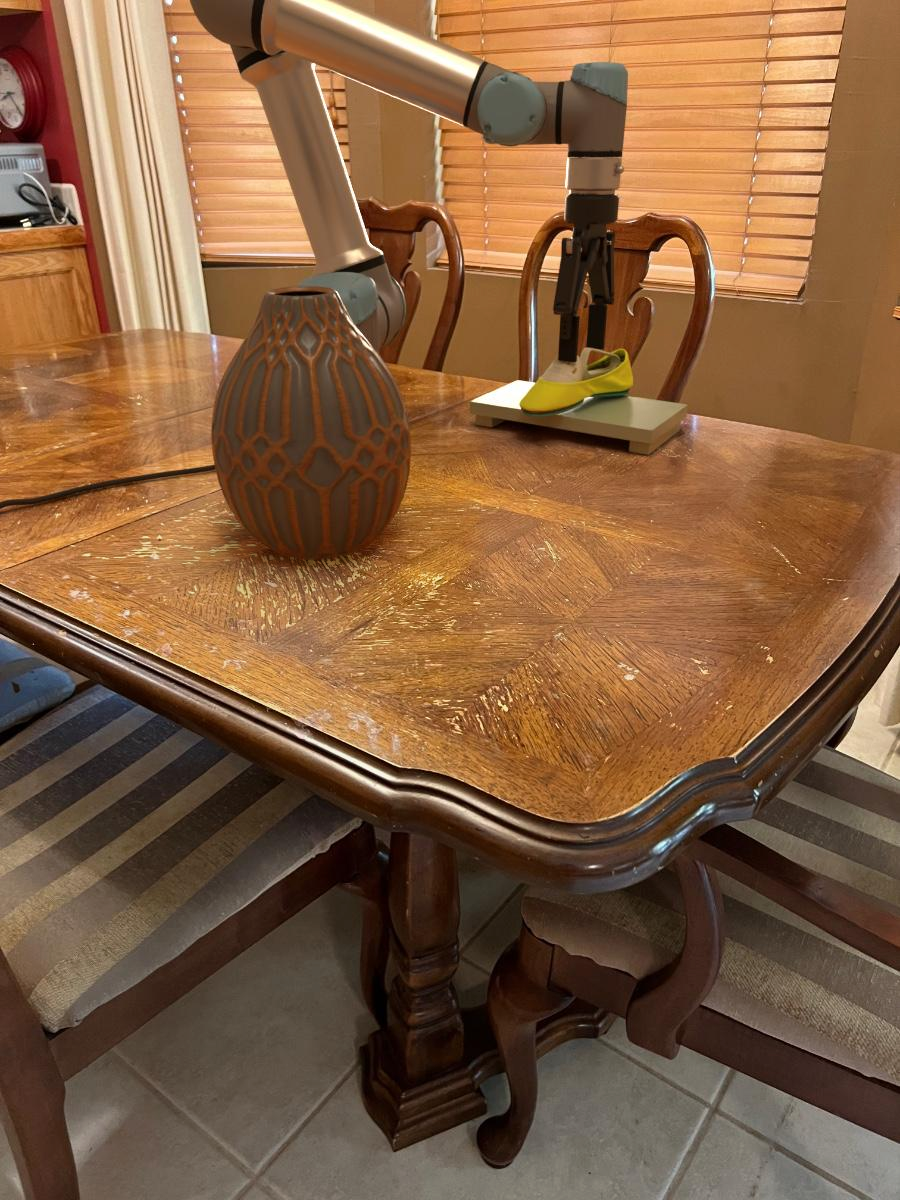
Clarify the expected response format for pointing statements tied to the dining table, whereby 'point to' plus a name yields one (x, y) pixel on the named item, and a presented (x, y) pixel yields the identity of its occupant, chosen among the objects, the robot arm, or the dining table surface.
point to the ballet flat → (578, 383)
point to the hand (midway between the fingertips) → (581, 354)
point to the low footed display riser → (590, 416)
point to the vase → (310, 430)
